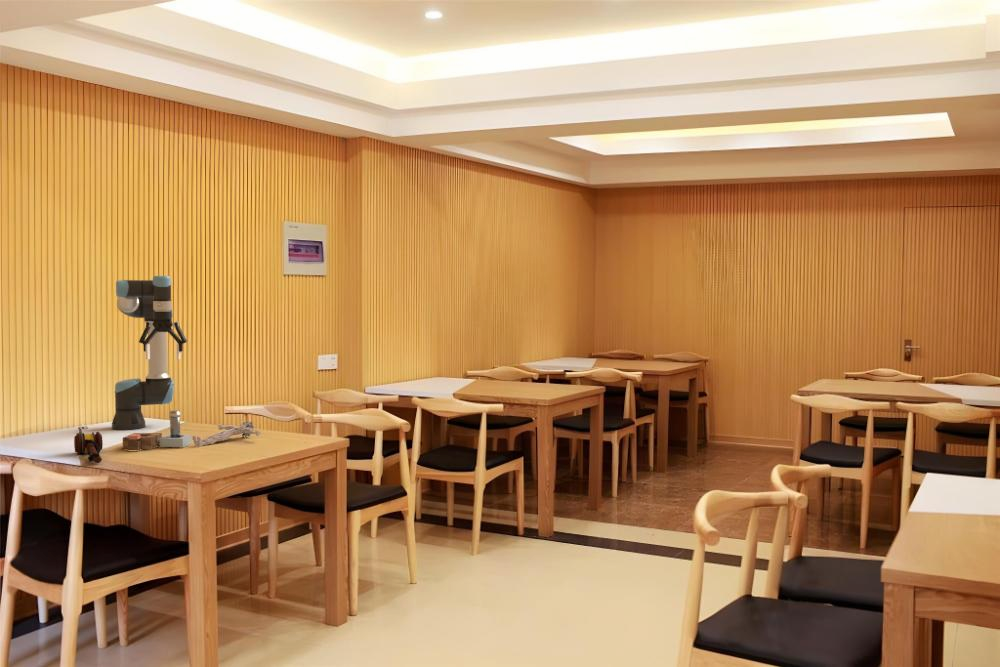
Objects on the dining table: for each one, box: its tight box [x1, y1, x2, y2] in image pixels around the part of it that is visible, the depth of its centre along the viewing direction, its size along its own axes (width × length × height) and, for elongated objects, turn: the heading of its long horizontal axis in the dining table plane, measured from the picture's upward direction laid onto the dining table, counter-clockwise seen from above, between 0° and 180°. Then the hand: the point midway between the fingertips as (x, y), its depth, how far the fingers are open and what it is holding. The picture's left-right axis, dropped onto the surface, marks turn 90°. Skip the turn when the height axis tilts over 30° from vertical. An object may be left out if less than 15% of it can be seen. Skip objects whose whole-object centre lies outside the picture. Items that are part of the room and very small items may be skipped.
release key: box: [129, 433, 141, 442], centre depth 374 cm, size 4×4×6 cm
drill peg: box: [169, 410, 181, 438], centre depth 385 cm, size 4×4×15 cm
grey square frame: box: [159, 434, 192, 449], centre depth 385 cm, size 10×10×4 cm
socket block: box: [122, 432, 163, 451], centre depth 380 cm, size 16×12×5 cm
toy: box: [191, 421, 261, 448], centre depth 396 cm, size 28×8×30 cm
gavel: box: [73, 426, 104, 464], centre depth 360 cm, size 10×34×10 cm
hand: (163, 359), depth 392 cm, fingers open, 13 cm apart
